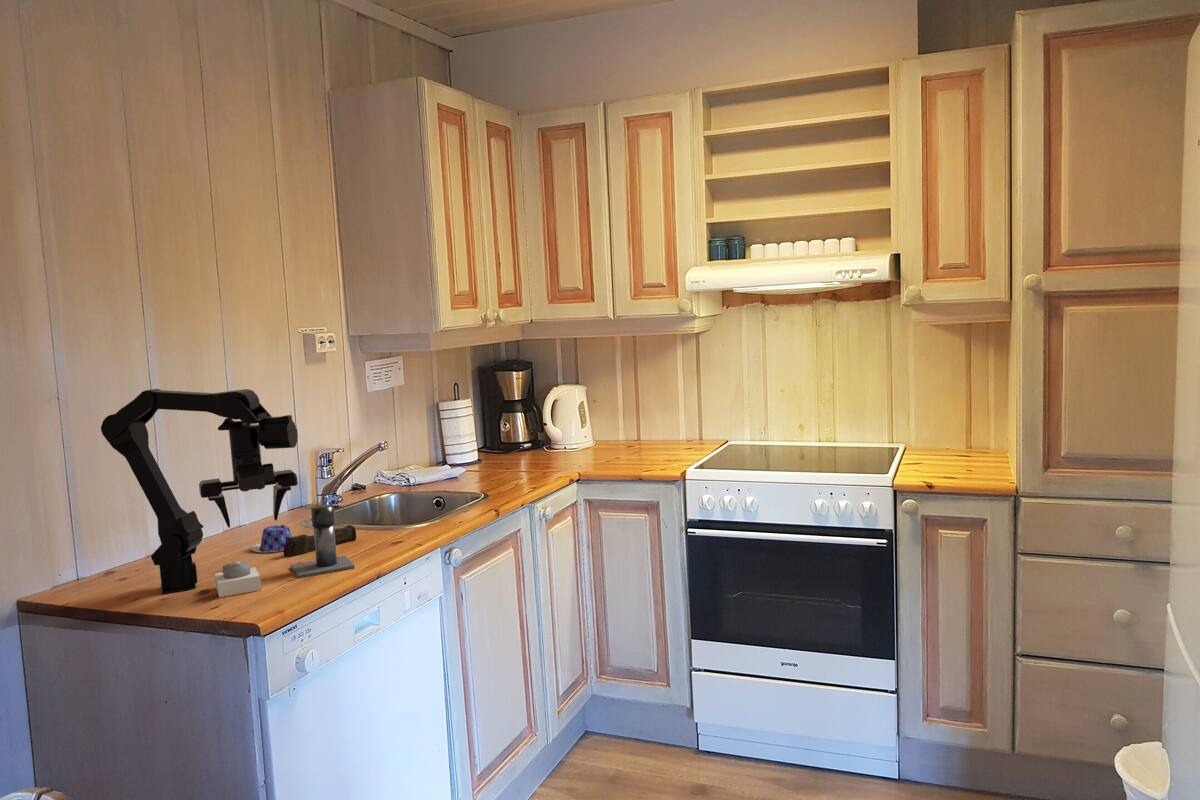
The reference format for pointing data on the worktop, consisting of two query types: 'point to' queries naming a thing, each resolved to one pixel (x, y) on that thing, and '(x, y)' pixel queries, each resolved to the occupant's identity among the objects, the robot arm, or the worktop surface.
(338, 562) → the rest mat
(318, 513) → the grey upright cylinder
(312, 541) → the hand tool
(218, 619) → the worktop surface
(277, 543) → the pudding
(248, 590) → the block
